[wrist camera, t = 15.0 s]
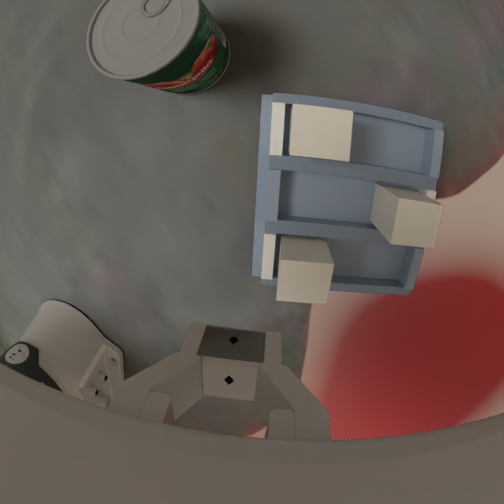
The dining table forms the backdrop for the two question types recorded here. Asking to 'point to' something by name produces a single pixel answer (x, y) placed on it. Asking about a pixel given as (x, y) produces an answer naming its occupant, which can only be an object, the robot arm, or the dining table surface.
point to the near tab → (320, 132)
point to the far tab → (304, 269)
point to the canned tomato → (158, 44)
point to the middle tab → (406, 216)
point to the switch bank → (343, 192)
